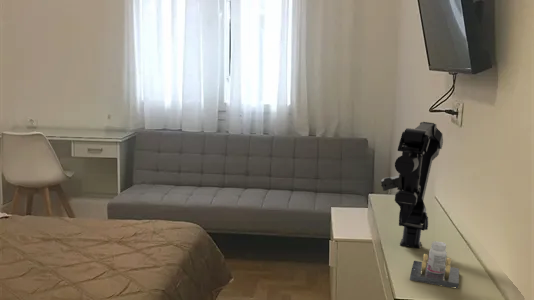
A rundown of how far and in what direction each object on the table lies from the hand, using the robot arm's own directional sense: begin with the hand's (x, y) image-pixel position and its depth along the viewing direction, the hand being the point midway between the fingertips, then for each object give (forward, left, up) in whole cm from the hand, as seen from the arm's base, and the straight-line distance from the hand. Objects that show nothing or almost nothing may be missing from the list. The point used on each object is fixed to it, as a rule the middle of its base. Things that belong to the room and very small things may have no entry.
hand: (404, 219), depth 184 cm
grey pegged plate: (+13, +11, -12) cm, 21 cm away
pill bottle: (+13, +11, -11) cm, 20 cm away
